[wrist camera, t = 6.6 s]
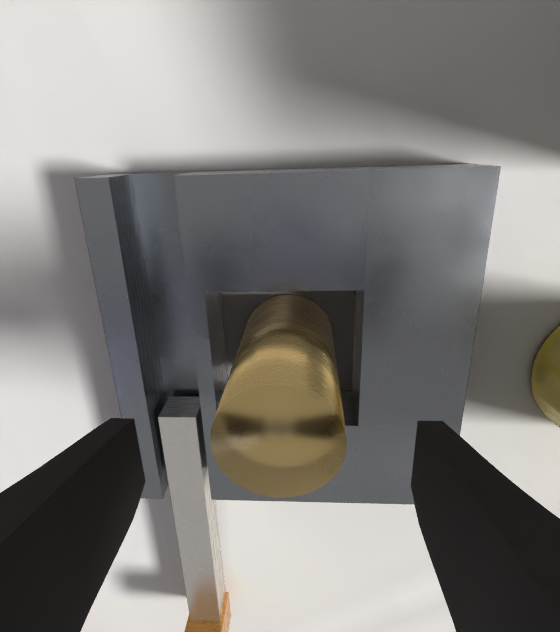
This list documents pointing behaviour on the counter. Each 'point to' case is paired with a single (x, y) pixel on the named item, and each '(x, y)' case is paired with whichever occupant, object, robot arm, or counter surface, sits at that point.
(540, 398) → the vase
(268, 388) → the gold cylinder
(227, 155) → the counter surface
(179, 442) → the lock pin
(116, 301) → the socket
